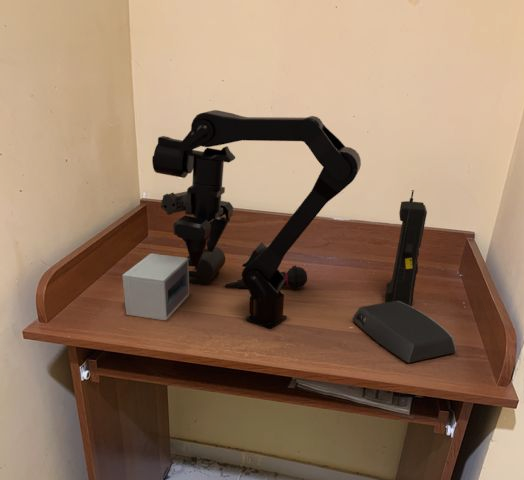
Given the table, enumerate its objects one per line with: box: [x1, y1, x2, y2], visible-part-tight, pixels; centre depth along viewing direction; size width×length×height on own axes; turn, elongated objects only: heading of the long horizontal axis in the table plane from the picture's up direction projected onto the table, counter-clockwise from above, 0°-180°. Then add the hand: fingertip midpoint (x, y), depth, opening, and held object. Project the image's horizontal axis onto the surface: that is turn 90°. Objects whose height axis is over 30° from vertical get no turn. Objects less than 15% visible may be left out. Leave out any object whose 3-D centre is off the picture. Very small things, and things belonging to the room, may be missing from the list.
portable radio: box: [384, 189, 428, 307], centre depth 116 cm, size 8×6×25 cm
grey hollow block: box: [122, 253, 190, 322], centre depth 113 cm, size 9×14×9 cm, turn 167°
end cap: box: [186, 246, 226, 285], centre depth 129 cm, size 10×7×7 cm
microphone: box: [224, 265, 308, 291], centre depth 125 cm, size 6×6×20 cm
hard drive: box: [352, 301, 457, 363], centre depth 106 cm, size 13×19×4 cm
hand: (202, 258), depth 108 cm, fingers open, 9 cm apart
